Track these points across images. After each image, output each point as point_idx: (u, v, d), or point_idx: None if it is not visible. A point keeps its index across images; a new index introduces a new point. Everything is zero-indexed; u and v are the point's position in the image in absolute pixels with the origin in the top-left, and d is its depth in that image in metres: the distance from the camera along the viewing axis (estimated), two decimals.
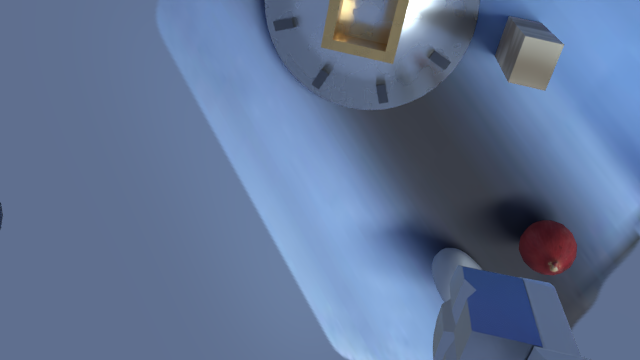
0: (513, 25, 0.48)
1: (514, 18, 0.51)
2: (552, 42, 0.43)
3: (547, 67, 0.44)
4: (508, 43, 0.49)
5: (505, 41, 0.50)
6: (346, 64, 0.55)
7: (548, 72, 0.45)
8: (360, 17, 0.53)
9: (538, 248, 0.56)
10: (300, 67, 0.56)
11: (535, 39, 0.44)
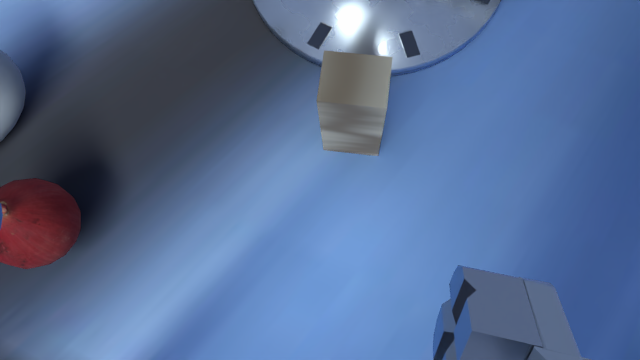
0: None
1: None
2: (387, 93, 0.30)
3: (351, 95, 0.30)
4: None
5: None
6: None
7: (344, 98, 0.30)
8: None
9: (31, 190, 0.33)
10: None
11: (389, 70, 0.30)
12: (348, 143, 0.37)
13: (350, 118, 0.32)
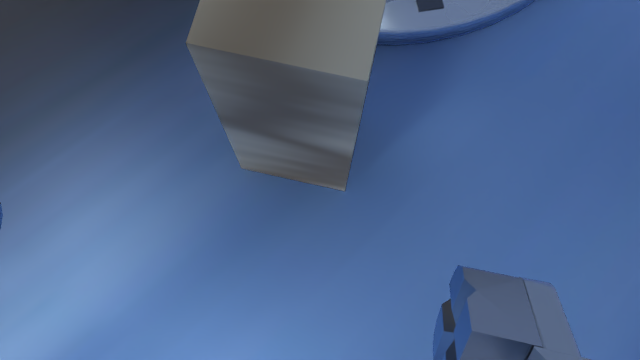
0: None
1: None
2: (373, 44, 0.12)
3: (278, 38, 0.11)
4: None
5: None
6: None
7: (258, 45, 0.11)
8: None
9: None
10: None
11: None
12: (285, 161, 0.18)
13: (279, 104, 0.13)
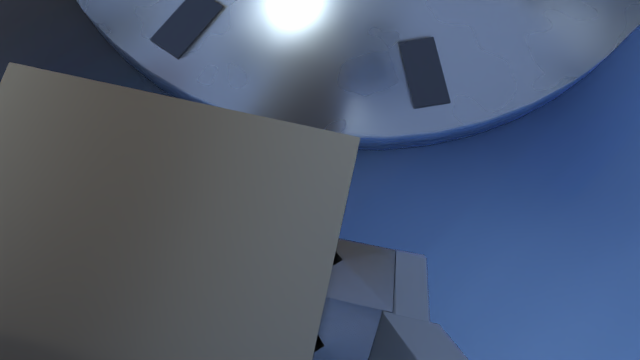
0: None
1: None
2: (309, 352, 0.05)
3: (94, 342, 0.05)
4: None
5: None
6: None
7: None
8: None
9: None
10: None
11: (333, 212, 0.05)
12: None
13: None
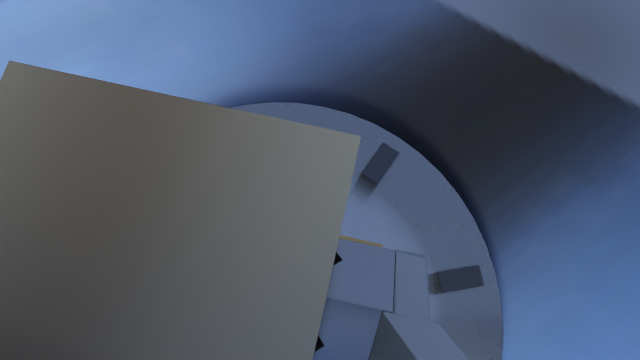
0: None
1: None
2: (309, 351, 0.05)
3: (94, 341, 0.05)
4: None
5: None
6: None
7: None
8: None
9: None
10: None
11: (334, 212, 0.05)
12: None
13: None
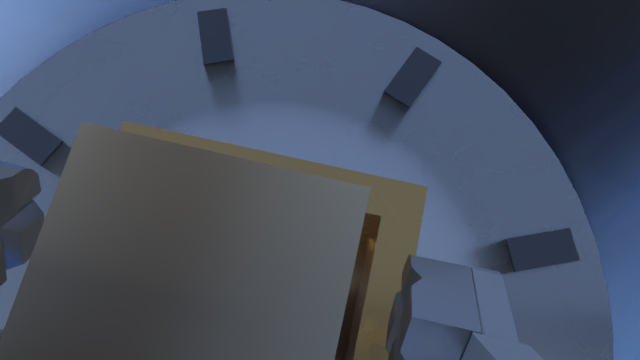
0: None
1: None
2: None
3: (159, 354, 0.06)
4: None
5: None
6: None
7: None
8: None
9: None
10: (77, 77, 0.17)
11: (349, 250, 0.07)
12: None
13: None
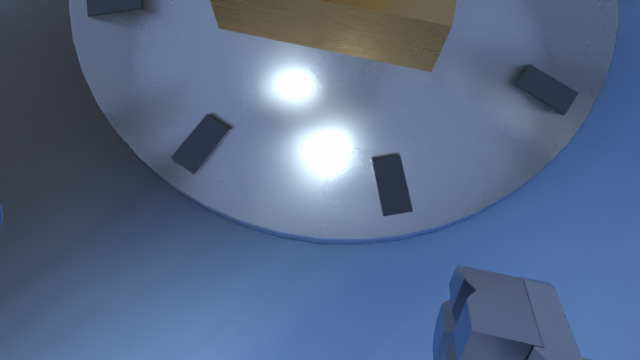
0: None
1: None
2: None
3: None
4: None
5: None
6: None
7: None
8: None
9: None
10: None
11: None
12: None
13: None
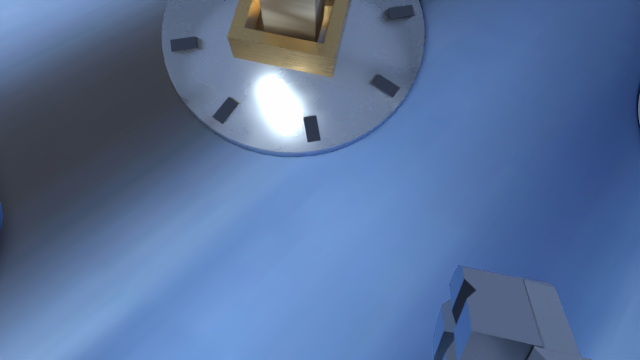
0: None
1: (323, 14, 0.42)
2: None
3: None
4: None
5: None
6: (225, 3, 0.43)
7: None
8: None
9: None
10: None
11: None
12: (287, 30, 0.40)
13: None
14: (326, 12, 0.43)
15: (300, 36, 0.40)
